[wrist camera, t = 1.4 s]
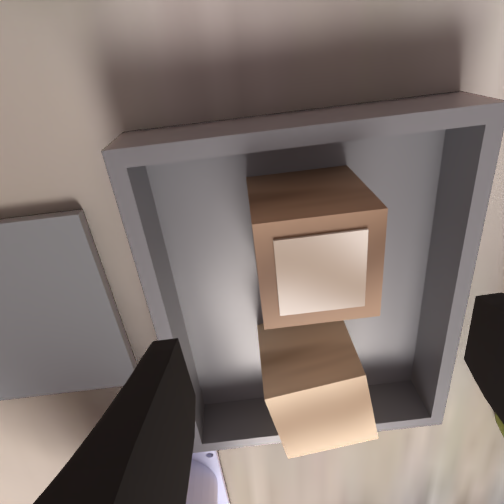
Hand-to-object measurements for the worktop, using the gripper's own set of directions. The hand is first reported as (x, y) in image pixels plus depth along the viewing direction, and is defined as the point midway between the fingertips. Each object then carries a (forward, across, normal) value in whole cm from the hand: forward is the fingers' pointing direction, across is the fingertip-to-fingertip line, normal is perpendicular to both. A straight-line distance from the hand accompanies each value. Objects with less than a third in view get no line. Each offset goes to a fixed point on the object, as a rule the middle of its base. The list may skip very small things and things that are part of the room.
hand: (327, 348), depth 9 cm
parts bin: (+10, -1, +5) cm, 11 cm away
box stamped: (+9, -1, +1) cm, 9 cm away
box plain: (+9, 0, +9) cm, 13 cm away
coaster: (+10, +15, +4) cm, 18 cm away
